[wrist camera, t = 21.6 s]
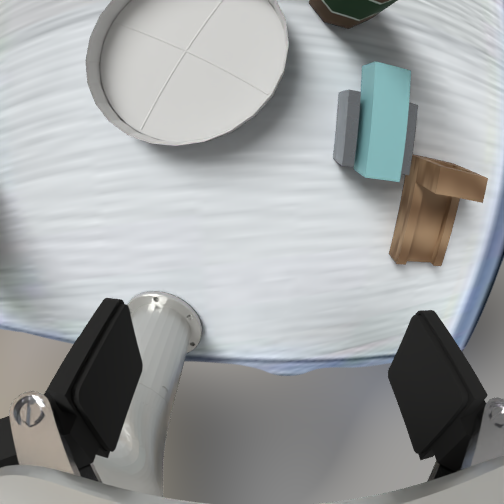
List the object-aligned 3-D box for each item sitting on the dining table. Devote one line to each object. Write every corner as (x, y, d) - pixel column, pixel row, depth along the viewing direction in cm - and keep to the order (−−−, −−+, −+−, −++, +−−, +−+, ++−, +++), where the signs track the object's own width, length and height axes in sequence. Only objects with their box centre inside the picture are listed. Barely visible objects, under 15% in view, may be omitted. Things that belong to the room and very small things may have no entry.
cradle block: (391, 166, 34) (409, 175, 29) (331, 158, 34) (342, 165, 29) (398, 104, 30) (417, 105, 25) (336, 92, 30) (348, 89, 25)
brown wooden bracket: (431, 256, 39) (457, 283, 32) (388, 253, 39) (411, 283, 32) (453, 163, 33) (487, 178, 26) (408, 153, 33) (440, 166, 26)
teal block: (385, 173, 32) (399, 182, 28) (353, 169, 32) (365, 177, 28) (394, 73, 26) (410, 70, 23) (362, 66, 26) (375, 61, 23)
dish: (77, 99, 30) (56, 100, 26) (164, -43, 22) (153, -59, 17) (221, 175, 35) (215, 186, 31) (322, 27, 27) (332, 15, 22)
